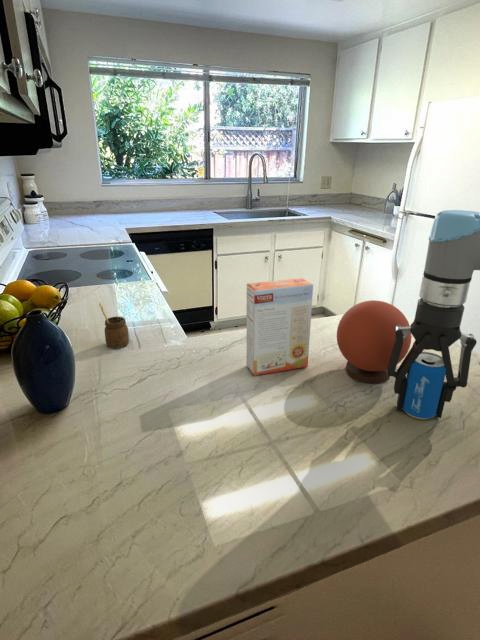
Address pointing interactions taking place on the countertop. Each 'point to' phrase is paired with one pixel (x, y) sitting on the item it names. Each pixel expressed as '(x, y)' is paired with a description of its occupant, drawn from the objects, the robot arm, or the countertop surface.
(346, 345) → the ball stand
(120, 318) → the brown jar with stick
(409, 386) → the beverage can
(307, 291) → the cracker box
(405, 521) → the countertop surface
